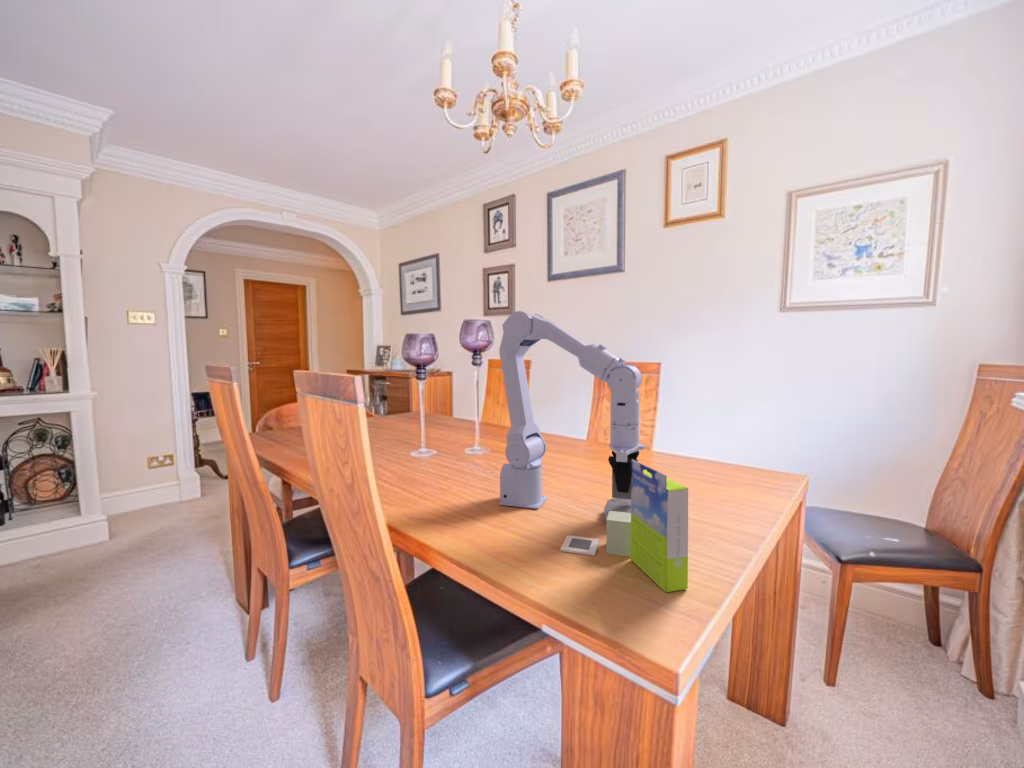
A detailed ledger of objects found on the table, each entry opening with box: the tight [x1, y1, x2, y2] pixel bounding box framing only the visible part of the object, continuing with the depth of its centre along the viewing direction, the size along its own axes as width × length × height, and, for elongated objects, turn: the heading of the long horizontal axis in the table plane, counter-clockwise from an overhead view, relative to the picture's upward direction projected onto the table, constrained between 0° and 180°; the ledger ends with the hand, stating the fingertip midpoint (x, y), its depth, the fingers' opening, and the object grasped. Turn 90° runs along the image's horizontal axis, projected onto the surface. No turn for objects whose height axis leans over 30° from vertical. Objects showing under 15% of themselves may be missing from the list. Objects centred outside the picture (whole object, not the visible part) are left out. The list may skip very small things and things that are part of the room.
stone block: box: [602, 498, 631, 523], centre depth 88 cm, size 12×5×10 cm
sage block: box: [605, 511, 631, 557], centre depth 75 cm, size 4×4×6 cm
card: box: [559, 534, 600, 557], centre depth 76 cm, size 6×6×1 cm
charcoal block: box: [611, 468, 632, 499], centre depth 88 cm, size 4×4×6 cm
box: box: [629, 459, 689, 593], centre depth 66 cm, size 10×4×17 cm, turn 13°
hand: (624, 488), depth 88 cm, fingers closed on charcoal block, 4 cm apart
